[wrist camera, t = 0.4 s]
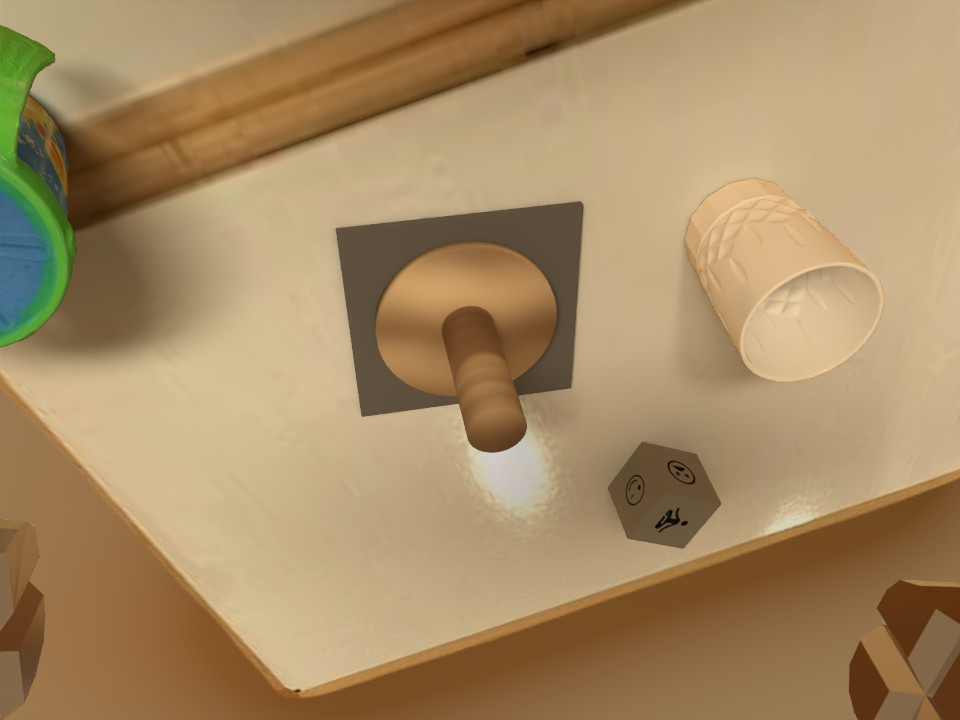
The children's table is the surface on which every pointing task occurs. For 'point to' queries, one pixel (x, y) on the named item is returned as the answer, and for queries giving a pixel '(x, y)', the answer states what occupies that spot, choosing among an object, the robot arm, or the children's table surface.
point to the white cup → (781, 282)
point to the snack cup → (30, 196)
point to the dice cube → (663, 496)
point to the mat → (391, 246)
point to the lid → (469, 332)
